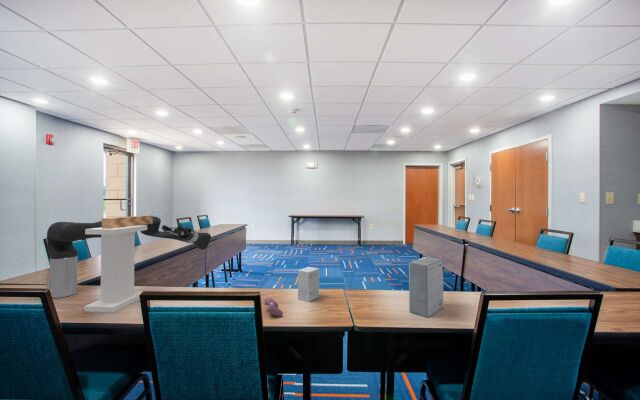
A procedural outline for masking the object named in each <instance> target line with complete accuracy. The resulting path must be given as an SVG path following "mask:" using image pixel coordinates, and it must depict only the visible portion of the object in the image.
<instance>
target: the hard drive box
mask: <svg viewBox="0 0 640 400" xmlns="http://www.w3.org/2000/svg"><path fill="white" fill-rule="evenodd" d="M443 265H444V264H443V259H442V258H437V257H431V256H424V257H423V256H422V257H421V258H418V259H415V260H413V261H410V262H408V290H409V291H408V298H409V299H408V301H409V302H408V303H409V305H408V309H409V310H408V311H409V313H410V314H413V315H417V316H420V317H423V318H429V317H430V316H432V315H433V314H436V312H438V311H439V310H441V309H442V308H444V270H443V269H444V266H443Z"/></svg>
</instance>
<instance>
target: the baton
mask: <svg viewBox="0 0 640 400" xmlns="http://www.w3.org/2000/svg"><path fill="white" fill-rule="evenodd" d="M153 216H154V215H134V216H133V215H132V216H119V217H118V216H117V217H105V218H104V217H103V218H101V221H102V229H113V228H121V227H130V226H138V225H146V224H153Z"/></svg>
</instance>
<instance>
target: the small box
mask: <svg viewBox="0 0 640 400" xmlns="http://www.w3.org/2000/svg"><path fill="white" fill-rule="evenodd" d="M318 298H320V268H318V267H314V266H313V267H311V266H307V267H304V268H300V269H298V270H297V300H299V301H302V302H303V301H304V302H305V303H310V302H312V301H314V300H316V299H318Z"/></svg>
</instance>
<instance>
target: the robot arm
mask: <svg viewBox="0 0 640 400" xmlns="http://www.w3.org/2000/svg"><path fill="white" fill-rule="evenodd" d="M152 216H153V224H146V225H147V230H143V231H139V232H140V233H141V234H142V235H145V236H148V237H155V238H161V239H167V240H169V239H170V240H176V241H180V242H184V243H188V244H193V245H194V247H196V248H197V249H199V250H203V251H204V250H206V249H207V248H208V247H209V244H210V241H211V239H212V235H211V234H210V233H209V232H198V231H197V230H195V229H193V228H191V227H189V226H180V225H177V226H176V227H175V226H172V227H171V226H167V225H163V224H162V223H161V222H162V221H161V218H160V217H158V216H154V215H152ZM161 224H162V226H161ZM160 226H161V230H163V231H161V230H160ZM101 227H102V220H99V221H96V222H95V221H94V222H74V221H57V222H54V223H52V224H51V225H50V226H49V227H48V229H47V232H46V247H47V248H46V250H47V252H48V254H49V274H48V275H47V276H46V290H47V289H50V290H51V294H52V296H53V298H52V299H59V298H66V297H70V296H73V295H76V294H77V293H78V255H79V254H78V253H79V252H78V249H77V248H75V246H74V244H73V242H78V241H82V240H88V239H94V238H96V239H97V238H98V239H99V238H100V239H101V235H97V234H85V229H91V228H101Z"/></svg>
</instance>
